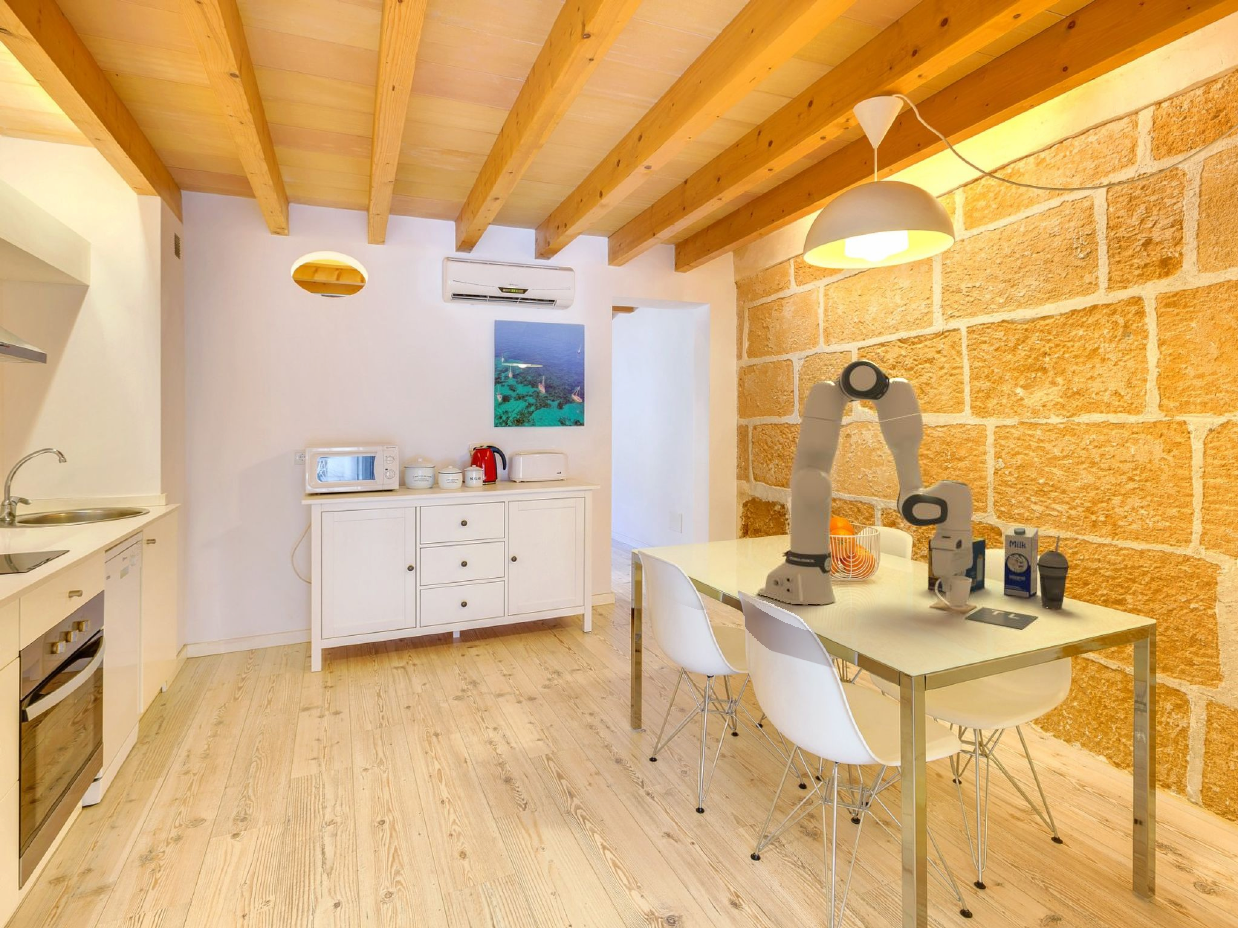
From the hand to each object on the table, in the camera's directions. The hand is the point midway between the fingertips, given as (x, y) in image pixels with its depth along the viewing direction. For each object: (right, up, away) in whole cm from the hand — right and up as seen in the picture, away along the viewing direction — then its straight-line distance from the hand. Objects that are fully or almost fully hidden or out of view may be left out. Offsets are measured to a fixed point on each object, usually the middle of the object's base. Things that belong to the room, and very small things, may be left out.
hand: (953, 588), depth 178 cm
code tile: (+7, -6, -10) cm, 14 cm away
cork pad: (0, -5, 0) cm, 5 cm away
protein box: (+12, -4, +21) cm, 25 cm away
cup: (0, -5, 0) cm, 5 cm away
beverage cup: (+27, -5, -1) cm, 27 cm away
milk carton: (+27, -5, +13) cm, 30 cm away
